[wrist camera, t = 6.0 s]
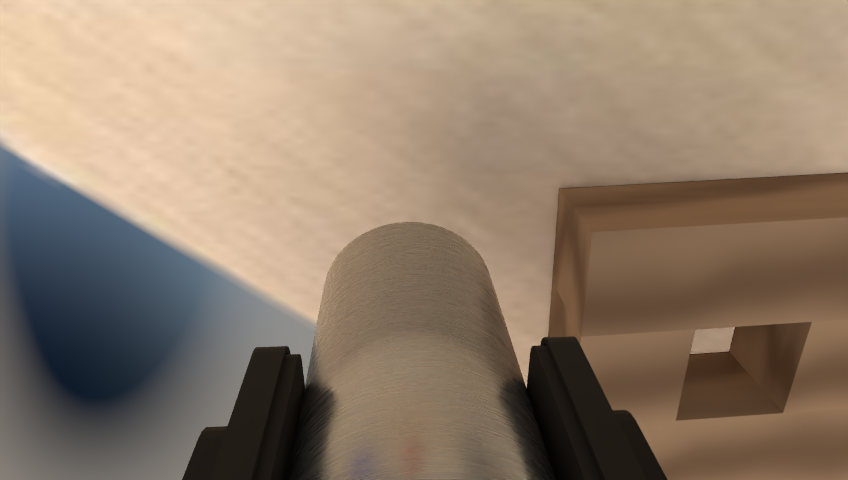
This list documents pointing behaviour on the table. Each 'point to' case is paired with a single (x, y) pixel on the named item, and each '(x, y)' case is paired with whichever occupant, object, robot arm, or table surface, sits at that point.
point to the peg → (414, 369)
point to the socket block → (715, 318)
